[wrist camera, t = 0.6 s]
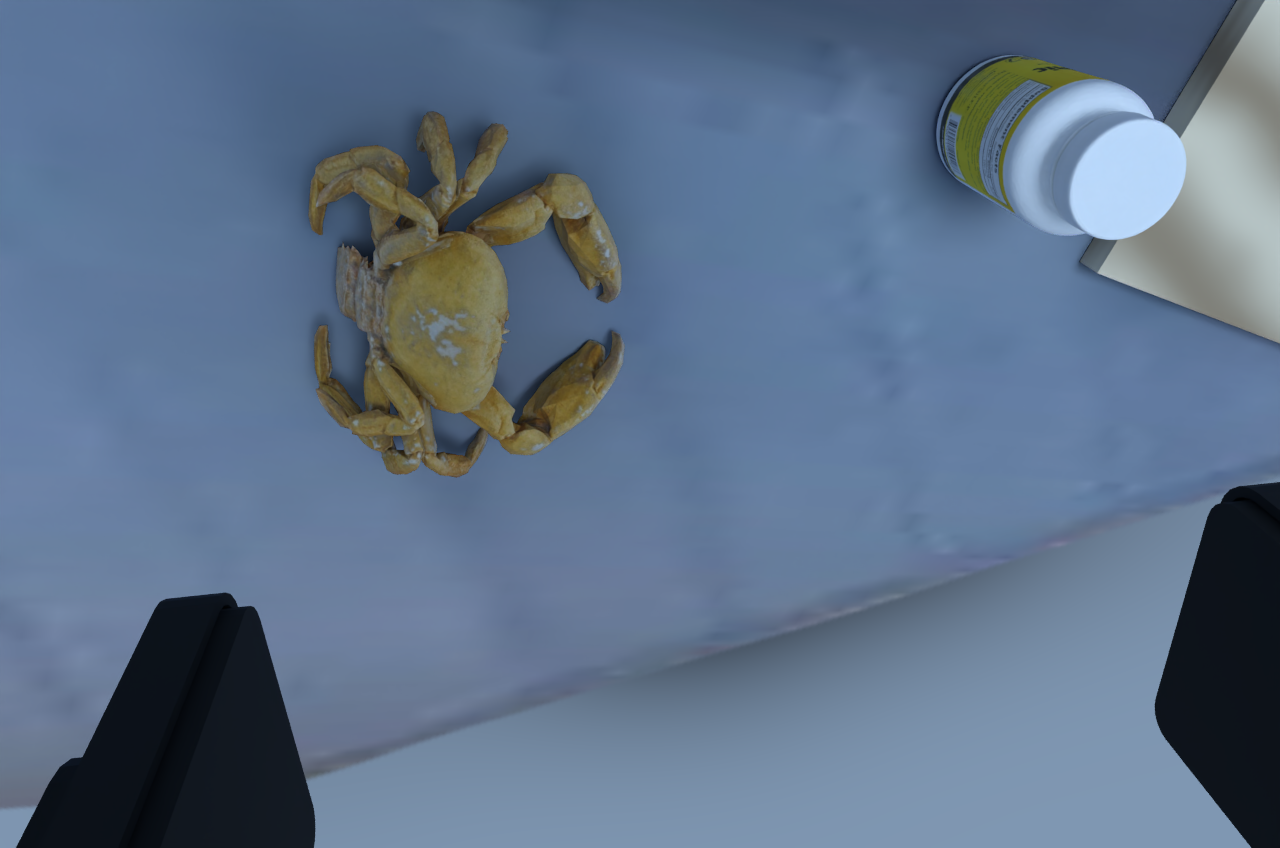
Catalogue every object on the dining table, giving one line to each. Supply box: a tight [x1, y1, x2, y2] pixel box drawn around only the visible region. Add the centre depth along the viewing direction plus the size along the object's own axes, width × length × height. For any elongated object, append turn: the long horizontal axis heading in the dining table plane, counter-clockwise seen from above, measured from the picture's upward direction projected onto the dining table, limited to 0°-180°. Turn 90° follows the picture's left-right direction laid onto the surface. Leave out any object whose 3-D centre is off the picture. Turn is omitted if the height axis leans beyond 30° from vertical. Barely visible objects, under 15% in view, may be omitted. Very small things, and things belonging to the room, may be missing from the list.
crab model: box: [308, 112, 625, 477], centre depth 39 cm, size 16×13×6 cm
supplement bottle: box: [936, 55, 1186, 240], centre depth 36 cm, size 5×5×10 cm
